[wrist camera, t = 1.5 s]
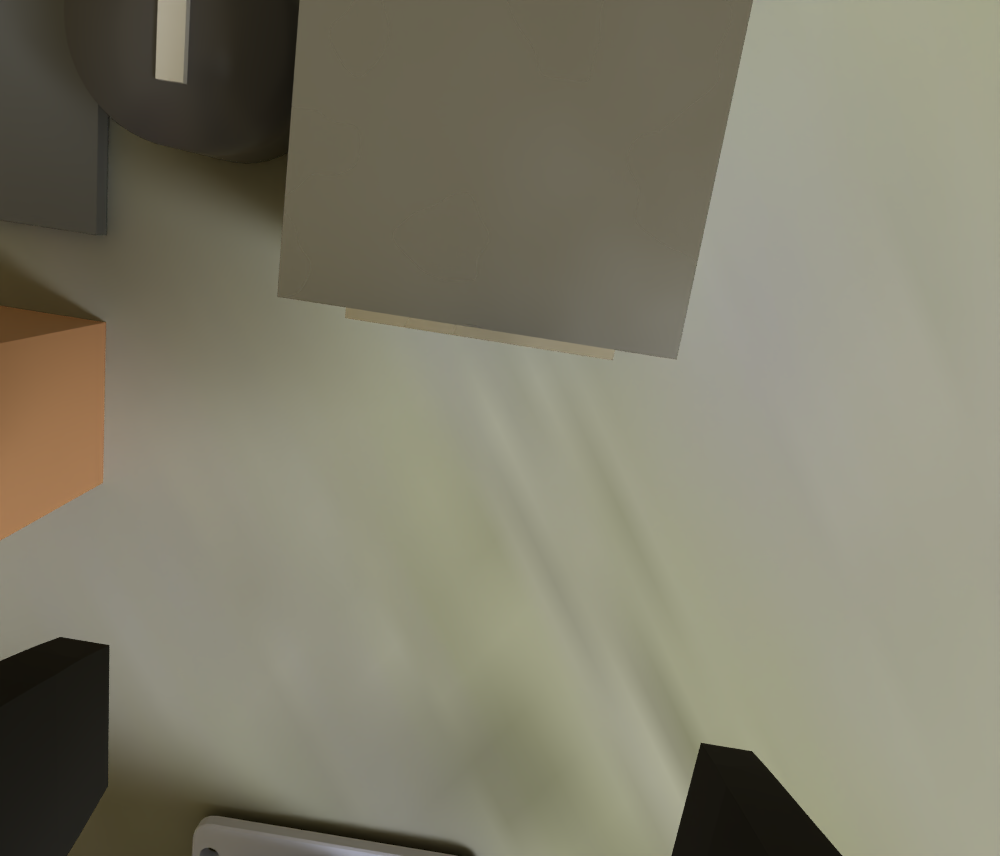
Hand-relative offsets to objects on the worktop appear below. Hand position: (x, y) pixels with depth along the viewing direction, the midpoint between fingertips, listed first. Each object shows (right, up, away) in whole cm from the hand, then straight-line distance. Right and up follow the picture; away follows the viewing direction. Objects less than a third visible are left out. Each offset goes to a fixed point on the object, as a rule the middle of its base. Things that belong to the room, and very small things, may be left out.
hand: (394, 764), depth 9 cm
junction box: (+2, +11, +7) cm, 13 cm away
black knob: (-4, +12, +7) cm, 14 cm away
